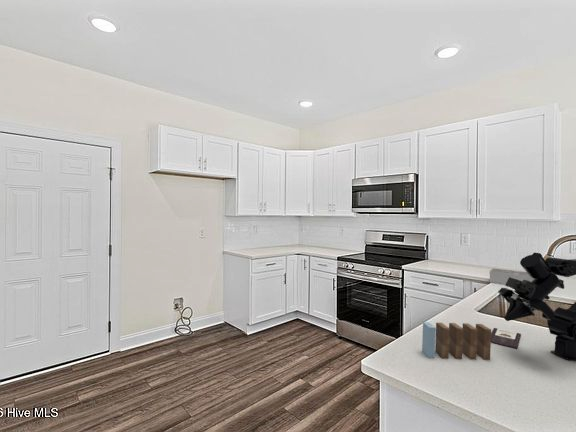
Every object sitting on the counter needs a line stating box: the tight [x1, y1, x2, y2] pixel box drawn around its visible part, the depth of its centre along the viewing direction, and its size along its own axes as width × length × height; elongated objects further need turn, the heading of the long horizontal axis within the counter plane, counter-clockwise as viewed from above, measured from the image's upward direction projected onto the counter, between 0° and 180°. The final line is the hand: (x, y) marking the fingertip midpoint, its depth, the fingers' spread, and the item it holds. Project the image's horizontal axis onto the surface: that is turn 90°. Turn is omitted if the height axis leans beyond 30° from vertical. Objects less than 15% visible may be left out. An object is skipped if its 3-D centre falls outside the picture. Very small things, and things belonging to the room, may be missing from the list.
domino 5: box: [475, 323, 492, 361], centre depth 104 cm, size 2×5×10 cm, turn 179°
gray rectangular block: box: [489, 267, 534, 286], centre depth 219 cm, size 17×28×9 cm, turn 50°
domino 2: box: [435, 322, 450, 360], centre depth 104 cm, size 2×5×10 cm, turn 179°
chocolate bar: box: [491, 327, 522, 350], centre depth 120 cm, size 9×1×18 cm
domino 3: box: [448, 322, 463, 360], centre depth 104 cm, size 2×5×10 cm, turn 179°
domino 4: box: [462, 322, 477, 361], centre depth 104 cm, size 2×5×10 cm, turn 179°
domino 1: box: [421, 321, 436, 359], centre depth 104 cm, size 2×5×10 cm, turn 179°
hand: (505, 319), depth 103 cm, fingers closed
